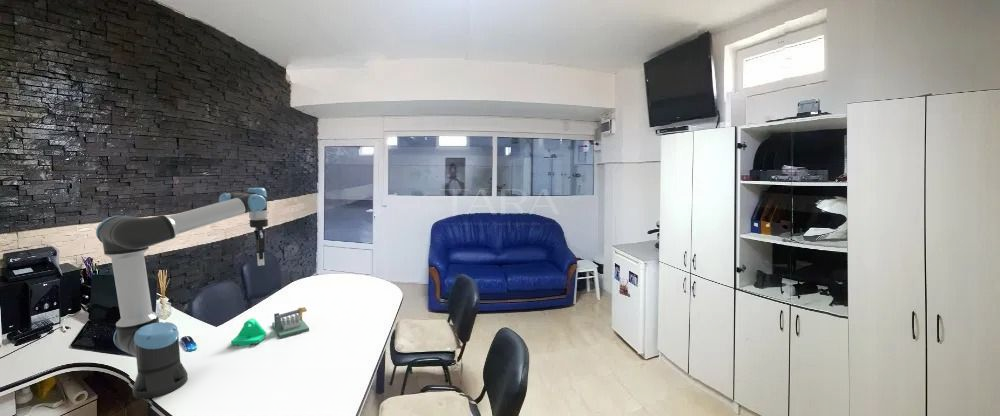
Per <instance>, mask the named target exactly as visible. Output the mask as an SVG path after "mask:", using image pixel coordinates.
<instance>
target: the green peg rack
mask: <svg viewBox="0 0 1000 416" xmlns="http://www.w3.org/2000/svg"><path fill="white" fill-rule="evenodd" d="M300 308H302V307H301V306H299V307H297V310H298V309H300ZM273 315H274V316H273V317H274V322H272V323H271V326H272V327H273V329H274V331H275V332H276V334H277V336H278V337H279V339H282V338H287V337H291V336H296V335H297V334H301V333H305V332H308V331H309V332H310V327H309V326H308V325H307V323H306V322H305V321H304V320H303V312H302V313H297V314H293V315H290V317H289V316H286V317H283V318H281V315H280V313H279V312H276V313H273ZM276 315H279V316H276ZM275 316H276V317H275Z"/></svg>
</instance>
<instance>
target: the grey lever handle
mask: <svg viewBox="0 0 1000 416" xmlns="http://www.w3.org/2000/svg"><path fill="white" fill-rule="evenodd" d="M299 308H300V307H299ZM305 312H308V311H307V307H301V308H300V309H298V308H297V309H295V310H291V311H287V312H284V313H281V314H280V313H279V315H281V319H282V318H283V317H284V318H286V316H288V317H289V316H290V315H293V316H294V314H297V315H298V313H302V314H303V313H305ZM279 315H276V316H279ZM276 316H275V317H276Z"/></svg>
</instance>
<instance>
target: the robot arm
mask: <svg viewBox="0 0 1000 416" xmlns="http://www.w3.org/2000/svg"><path fill="white" fill-rule="evenodd" d="M267 199H268V195H267V190H266V189H265V187H249V188H247V191H246V192H228V193H222V194H220V195H219V198H218V202H216V203H212V204H209V205H205V206H201V207H198V208H194V209H190V210H186V211H183V212H179V213H175V214H171V215H165V214H160V215H157V216H152V217H137V216H136V217H135V216H131V215H113V216H109V217H107V218H105V219H104V220H102V221H101V222H100V223H99V224H98V225H97V227H96V230H95V236H96V238H97V240H98V241H99V242H101V244H102V247H103V252H104V253H103V254H104V256H107V257H109V258H110V259H111V264H112V265H111V266H112V270H113V271H112V272H113V276H114V277H113V278H114V283H115V289H116V291H115V292H116V296H117V303H118V309H119V314H120V319H119V320H118V321H116V323H115V327H116V330H115V332H114V334H113V343H114V345H115V346H116V347H117V349H119V350H120V351H122V352H125V353H127V354H129V355H131V356H133V357H135V359H136V367H137V375H136V378H135V381H134V384H133V387H132V396H133V397H134V398H135V399H140V400H141V399H143V400H145V399H152V398H157V397H160V396H163V395H166V394H167V395H168V394H169V393H171V392H173V391H176V390H178V389H179V388H181V387H183V386H184V385H185V384H186V383H187V382H188V379H189V377H188V376H189V375H188V371H187V370H186V369H185V366H184V365H183V363H182V361H181V353H180V340H179V339H180V338H179V335H180V333H179V330H178V326H177V325H176V324H175V323H173V322H168V321H165V322H163V321H161V322H160V318H159V317H160V316H159V313H157V312H155V311H153V307H152V300H151V293H150V287H149V280H148V273H147V265H146V260H145V253H146V252H147V251H148V250H149V247H152V246H156V245H157V244H160V243H161V244H162V243H164V242H166V241H170V240H174V239H176V237H177V235H181V234H182V233H187V232H189V231H194V230H195V229H200V228H202V227H206V226H209V225H212V224H215V223H218V222H222V221H225V220H228V219H231V218H234V217H237V216H241V215H244V214H248V218H249V227H250V228H254V229H255V230H253V234H254V239H255V241H254V242H255V250H256V252H255V254H256V256H257V257H256V259H257V266H258V267H259V266H260V267H261V266H265V251H266V250H265V248H266V247H265V245H266V244H265V243H266V242H265V239H266V237H265V236H266V235H265V233H266V232H265V230H264V228H267V227H268V226H269V220H268V214H269V211H268V203H267V202H268V201H267Z"/></svg>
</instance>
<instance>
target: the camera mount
mask: <svg viewBox="0 0 1000 416" xmlns="http://www.w3.org/2000/svg"><path fill="white" fill-rule="evenodd" d="M265 337H267V332H266V331H265V329H264V328H263V327H262V325H261V324H260V323H259V322H258V321H257V319H255V318H251V317H250V318H249V319H248V320H247V321H245V322H244V323H243V326H242V328H241V329H240V331H239V332H238V334H237V336H235V337H233V339H231V340H230V343H231V344H230V345H231V346H234V345H235V346H236V345H238V346H239V347H245V346H244V345H249V346H251V345H252V344H258V343H261V341H263V340H264V339H265ZM250 344H251V345H250Z"/></svg>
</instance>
